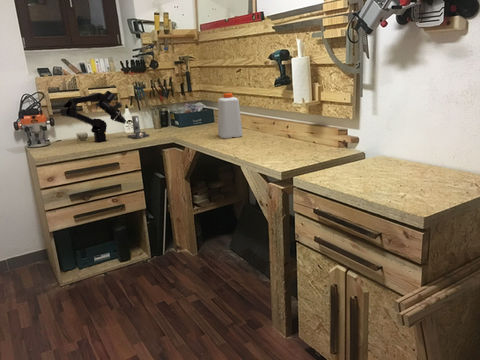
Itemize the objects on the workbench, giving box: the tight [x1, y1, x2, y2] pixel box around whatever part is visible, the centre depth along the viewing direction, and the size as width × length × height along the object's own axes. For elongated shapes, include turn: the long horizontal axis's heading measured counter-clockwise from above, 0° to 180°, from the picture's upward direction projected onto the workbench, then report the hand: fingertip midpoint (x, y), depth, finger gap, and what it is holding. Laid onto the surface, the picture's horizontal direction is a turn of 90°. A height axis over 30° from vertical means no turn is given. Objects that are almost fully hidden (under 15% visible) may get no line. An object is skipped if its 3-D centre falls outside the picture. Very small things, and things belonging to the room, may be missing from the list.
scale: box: [126, 131, 150, 140], centre depth 278 cm, size 11×13×4 cm
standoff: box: [131, 115, 141, 134], centre depth 277 cm, size 4×4×12 cm
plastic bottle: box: [217, 92, 244, 139], centre depth 261 cm, size 15×15×28 cm
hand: (125, 122), depth 274 cm, fingers open, 9 cm apart
